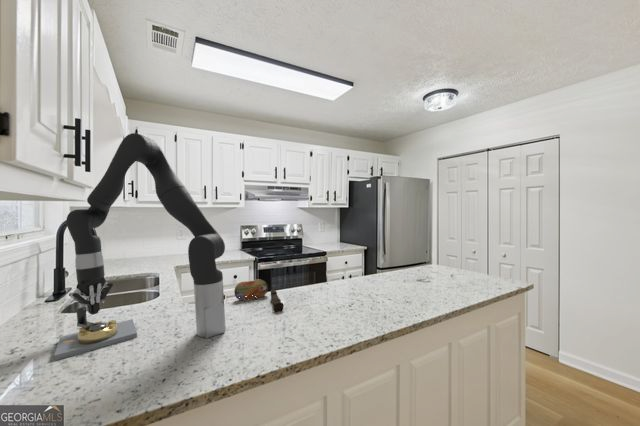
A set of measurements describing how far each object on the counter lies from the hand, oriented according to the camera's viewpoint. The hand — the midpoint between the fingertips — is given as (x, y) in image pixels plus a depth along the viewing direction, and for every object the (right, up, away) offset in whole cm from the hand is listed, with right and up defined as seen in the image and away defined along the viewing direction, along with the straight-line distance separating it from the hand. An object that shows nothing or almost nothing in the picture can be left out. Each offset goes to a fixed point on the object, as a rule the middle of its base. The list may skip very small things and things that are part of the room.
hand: (94, 313), depth 96 cm
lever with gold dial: (+5, -5, -6) cm, 9 cm away
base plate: (+6, -7, -5) cm, 10 cm away
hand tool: (+61, -4, +20) cm, 64 cm away
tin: (+49, -4, +29) cm, 57 cm away
